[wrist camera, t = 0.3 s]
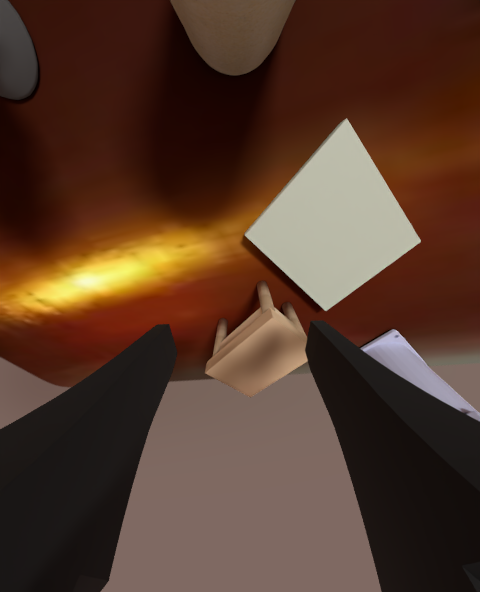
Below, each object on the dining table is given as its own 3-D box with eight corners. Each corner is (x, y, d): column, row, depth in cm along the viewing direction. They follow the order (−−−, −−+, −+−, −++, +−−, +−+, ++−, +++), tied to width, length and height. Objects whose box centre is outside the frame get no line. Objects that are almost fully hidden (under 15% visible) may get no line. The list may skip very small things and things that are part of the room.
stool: (295, 305, 20) (319, 353, 14) (247, 344, 23) (250, 397, 17) (261, 276, 18) (272, 317, 12) (214, 322, 21) (204, 373, 15)
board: (411, 239, 17) (421, 241, 16) (322, 306, 20) (325, 311, 19) (339, 123, 13) (346, 118, 12) (244, 233, 16) (244, 235, 15)
